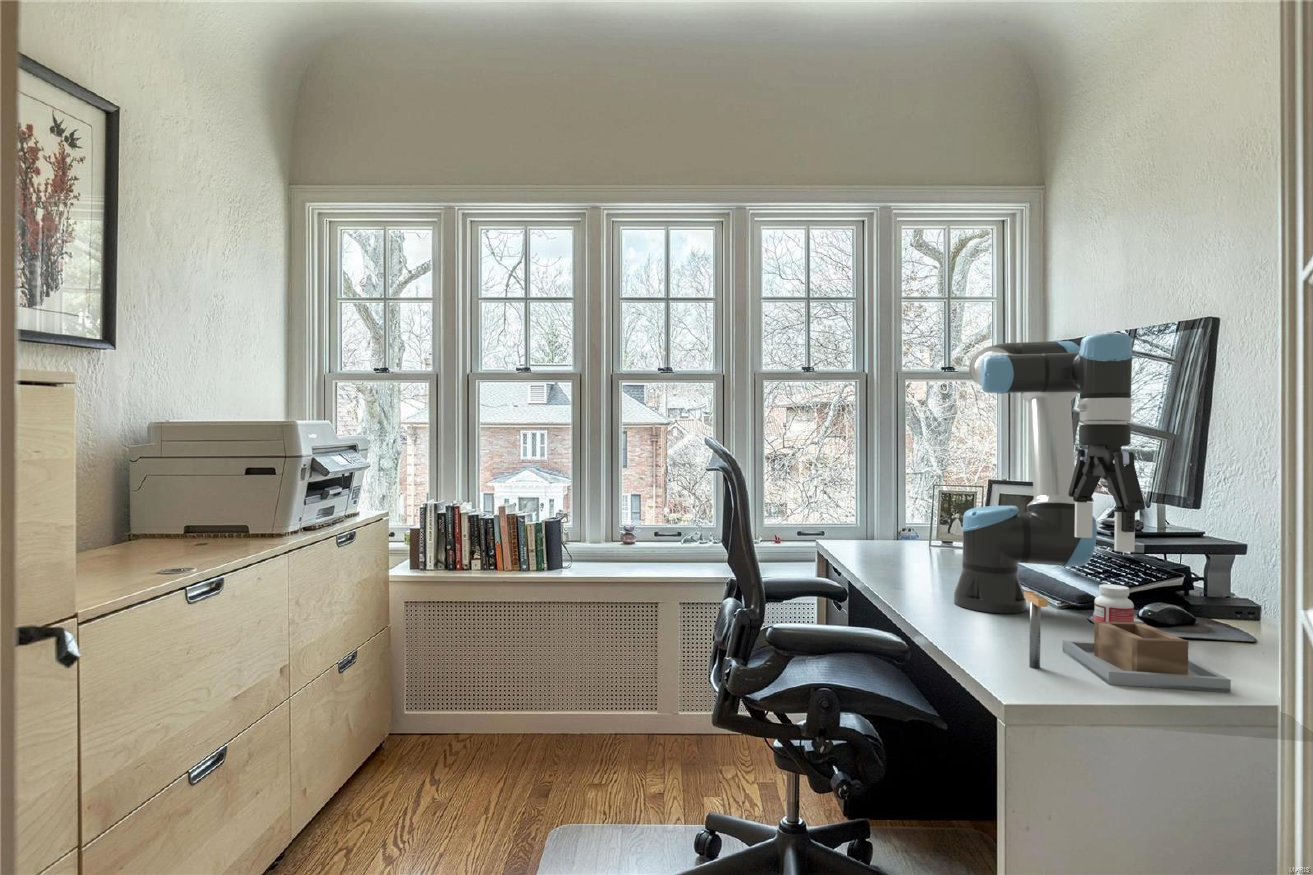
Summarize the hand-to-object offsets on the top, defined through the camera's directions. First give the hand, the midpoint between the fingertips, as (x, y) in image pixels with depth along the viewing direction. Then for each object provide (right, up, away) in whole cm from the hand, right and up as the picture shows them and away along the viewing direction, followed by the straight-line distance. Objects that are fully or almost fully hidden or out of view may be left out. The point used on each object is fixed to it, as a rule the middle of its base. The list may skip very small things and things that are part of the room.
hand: (1102, 544), depth 116 cm
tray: (+3, -21, -5) cm, 21 cm away
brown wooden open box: (+3, -20, -5) cm, 21 cm away
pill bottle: (+9, -21, +10) cm, 25 cm away
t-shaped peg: (-14, -20, -4) cm, 25 cm away
